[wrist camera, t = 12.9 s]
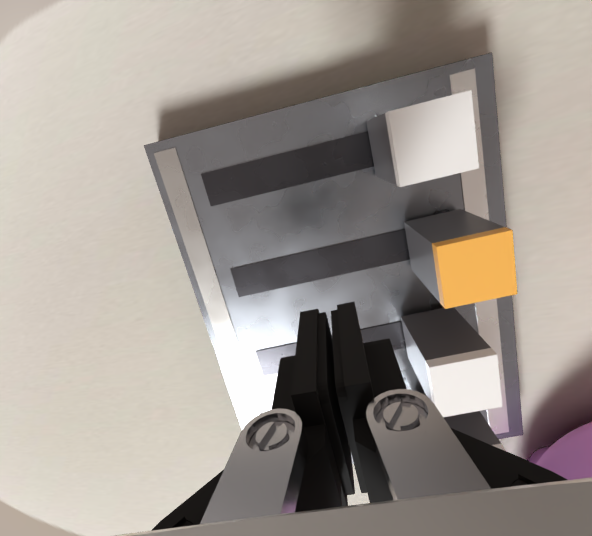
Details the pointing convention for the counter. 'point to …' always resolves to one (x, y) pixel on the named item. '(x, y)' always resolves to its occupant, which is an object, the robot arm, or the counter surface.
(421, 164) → the block
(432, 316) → the breaker
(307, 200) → the panel
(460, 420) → the breaker
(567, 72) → the counter surface
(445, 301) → the tripped breaker
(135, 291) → the counter surface
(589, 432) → the teapot
